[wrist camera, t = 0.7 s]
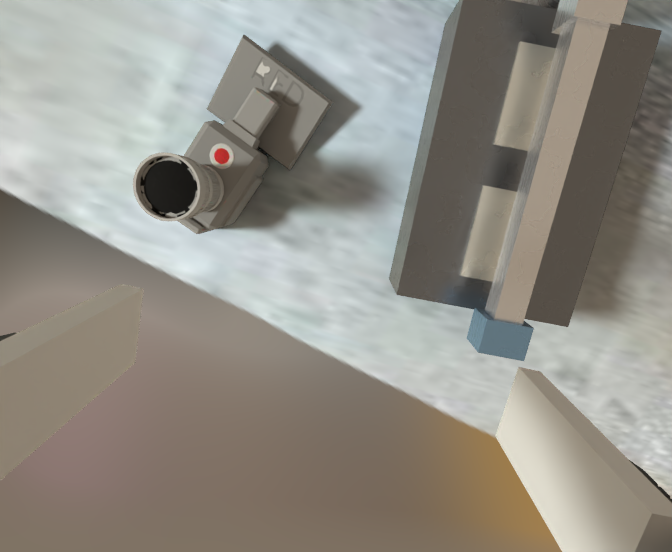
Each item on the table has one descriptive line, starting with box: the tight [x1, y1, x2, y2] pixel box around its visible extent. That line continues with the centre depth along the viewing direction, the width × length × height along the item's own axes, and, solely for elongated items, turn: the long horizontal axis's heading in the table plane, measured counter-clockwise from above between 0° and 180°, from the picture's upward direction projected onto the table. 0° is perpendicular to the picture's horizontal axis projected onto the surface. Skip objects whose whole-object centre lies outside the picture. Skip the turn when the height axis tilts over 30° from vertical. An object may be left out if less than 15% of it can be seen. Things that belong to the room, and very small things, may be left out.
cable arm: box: [467, 0, 628, 361], centre depth 28 cm, size 23×3×3 cm, turn 169°
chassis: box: [389, 0, 661, 327], centre depth 35 cm, size 22×14×6 cm, turn 169°
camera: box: [133, 35, 333, 234], centre depth 32 cm, size 9×12×15 cm
